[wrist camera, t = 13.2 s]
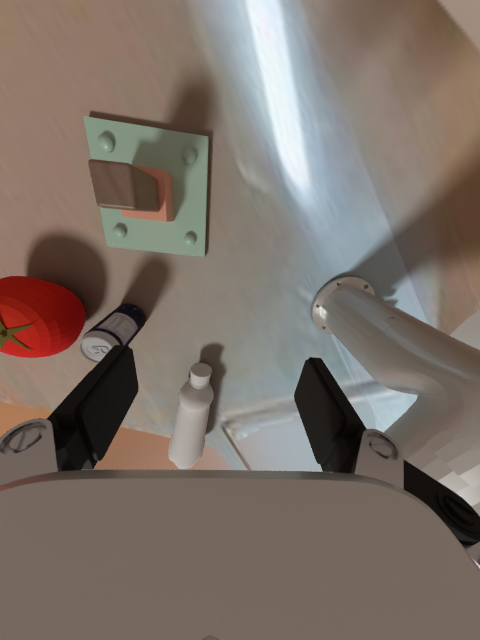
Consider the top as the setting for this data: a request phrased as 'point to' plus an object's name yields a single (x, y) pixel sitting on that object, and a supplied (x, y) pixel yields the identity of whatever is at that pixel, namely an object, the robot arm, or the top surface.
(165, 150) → the baseplate
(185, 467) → the bottle
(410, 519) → the robot arm
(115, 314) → the beverage can
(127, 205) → the wooden block
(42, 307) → the tomato
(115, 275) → the top surface
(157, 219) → the brick
